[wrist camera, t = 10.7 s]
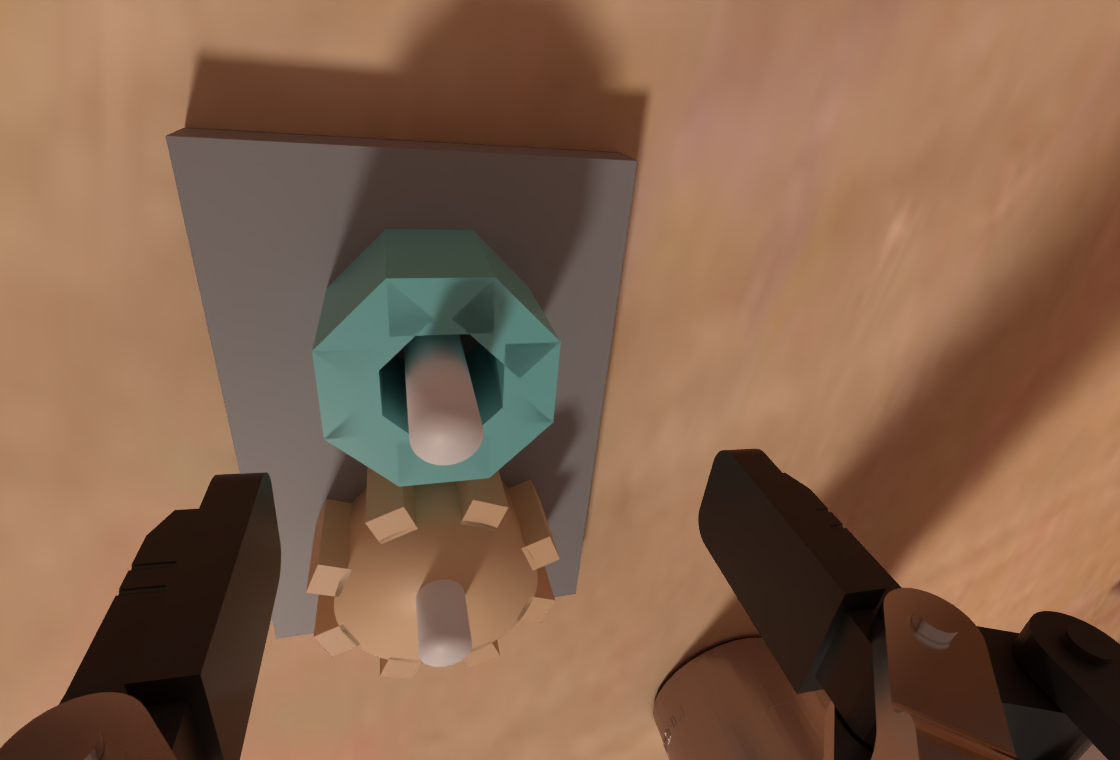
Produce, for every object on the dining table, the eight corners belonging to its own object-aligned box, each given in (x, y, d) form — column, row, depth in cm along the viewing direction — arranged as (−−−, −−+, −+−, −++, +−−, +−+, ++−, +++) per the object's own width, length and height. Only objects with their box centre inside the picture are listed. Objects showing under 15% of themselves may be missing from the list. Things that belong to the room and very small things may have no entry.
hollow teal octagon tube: (531, 230, 17) (566, 276, 14) (521, 399, 20) (548, 472, 17) (319, 228, 16) (301, 278, 12) (341, 411, 19) (331, 493, 15)
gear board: (620, 152, 18) (743, 212, 12) (566, 567, 27) (622, 729, 21) (183, 127, 15) (41, 190, 9) (282, 606, 24) (245, 810, 18)
